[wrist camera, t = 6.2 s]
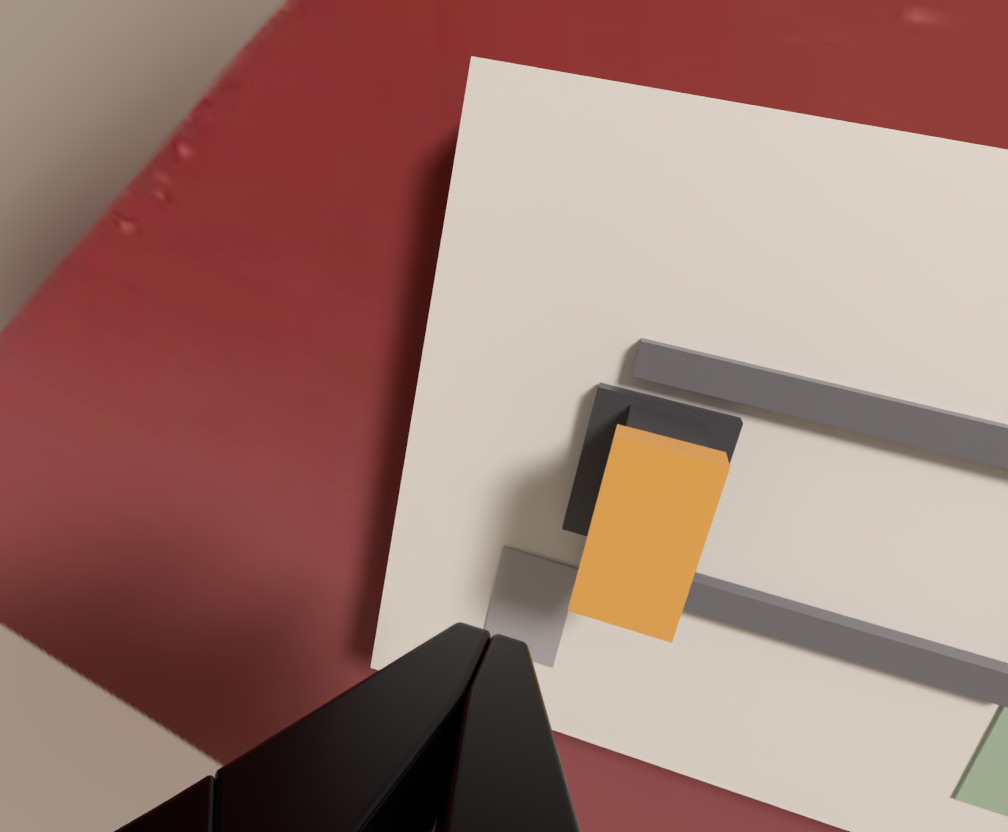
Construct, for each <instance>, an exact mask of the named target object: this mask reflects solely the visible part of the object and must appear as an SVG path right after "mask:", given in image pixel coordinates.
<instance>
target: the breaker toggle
mask: <svg viewBox="0 0 1008 832" xmlns="http://www.w3.org/2000/svg"><path fill="white" fill-rule="evenodd" d="M742 426H743V422H742V420H741V418H740V417H736V416H732V415H728V414H724V413H720V412H716V411H712V410H708V409H704V408H700V407H696V406H692V405H688V404H684V403H680V402H676V401H672V400H668V399H664V398H660V397H656V396H652V395H648V394H644V393H640V392H636V391H632V390H628V389H624V388H620V387H616V386H612V385H608V384H604V383H601V382H600V383H599V385H598V388H597V392H596V396H595V400H594V404H593V408H592V412H591V416H590V420H589V424H588V428H587V432H586V436H585V440H584V444H583V447H582V451H581V455H580V459H579V463H578V467H577V471H576V475H575V479H574V483H573V487H572V491H571V495H570V499H569V503H568V507H567V511H566V514H565V518H564V522H563V526H562V529H563V530H567V531H570V532H573V533H577V534H580V535H584V536H587V538H586V542H585V546H584V550H583V553H582V557H581V561H580V564H579V568H578V572H577V576H576V579H575V583H574V587H573V591H572V595H571V599H570V603H569V607H568V611H570V612H574V613H577V614H580V615H583V616H587V617H590V618H593V619H596V620H599V621H603V622H606V623H609V624H612V625H616V626H619V627H622V628H625V629H628V630H632V631H635V632H638V633H641V634H645V635H648V636H651V637H654V638H657V639H661V640H664V641H667V642H670V643H672V641H673V638H674V635H675V632H676V629H677V626H678V623H679V620H680V617H681V614H682V611H683V608H684V605H685V602H686V599H687V596H688V593H689V590H690V587H691V584H692V581H693V578H694V575H695V572H696V569H697V566H698V563H699V560H700V557H701V554H702V551H703V548H704V545H705V542H706V539H707V536H708V533H709V530H710V527H711V524H712V521H713V518H714V515H715V512H716V509H717V506H718V503H719V499H720V496H721V493H722V490H723V487H724V484H725V481H726V478H727V475H728V472H729V469H730V462H731V459H732V456H733V453H734V450H735V447H736V444H737V441H738V438H739V435H740V432H741V429H742Z"/></svg>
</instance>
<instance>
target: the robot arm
mask: <svg viewBox="0 0 1008 832" xmlns="http://www.w3.org/2000/svg"><path fill="white" fill-rule="evenodd" d="M435 825H436V826H435ZM434 828H435V830H434ZM433 831H434V832H580V828H579V825H578V821H577V818H576V814H575V811H574V807H573V804H572V800H571V796H570V793H569V789H568V786H567V782H566V779H565V775H564V772H563V768H562V764H561V761H560V757H559V754H558V750H557V747H556V743H555V740H554V736H553V732H552V729H551V725H550V722H549V718H548V715H547V711H546V708H545V704H544V700H543V697H542V693H541V690H540V686H539V683H538V679H537V676H536V672H535V669H534V665H533V661H532V658H531V654H530V651H529V648H528V645H527V644H526V643H525V642H523V641H520V640H517V639H514V638H510V637H507V636H504V635H501V634H495V635H493V636H492V637H491V635H490V633H489V631H487V630H485V629H482V628H478V627H475V626H472V625H469V624H466V623H462V622H458V623H455V624H453V625H452V626H450V627H449V628H447V629H445V630H444V631H442V632H440V633H439V634H437V635H436V636H434V637H432V638H431V639H429V640H427V641H426V642H424V643H423V644H421V645H419V646H418V647H416V648H415V649H413V650H411V651H410V652H408V653H406V654H405V655H403V656H402V657H400V658H398V659H397V660H395V661H393V662H392V663H390V664H389V665H387V666H385V667H384V668H382V669H380V670H379V671H377V672H376V673H374V674H372V675H371V676H369V677H368V678H366V679H364V680H363V681H361V682H359V683H358V684H356V685H355V686H353V687H351V688H350V689H348V690H346V691H345V692H343V693H342V694H340V695H338V696H337V697H335V698H333V699H332V700H330V701H329V702H327V703H325V704H324V705H322V706H321V707H319V708H317V709H316V710H314V711H312V712H311V713H309V714H308V715H306V716H304V717H303V718H301V719H299V720H298V721H296V722H295V723H293V724H291V725H290V726H288V727H286V728H285V729H283V730H282V731H280V732H278V733H277V734H275V735H274V736H272V737H270V738H269V739H267V740H265V741H264V742H262V743H261V744H259V745H257V746H256V747H254V748H252V749H251V750H249V751H248V752H246V753H244V754H243V755H241V756H240V757H238V758H236V759H235V760H233V761H231V762H230V763H228V764H227V765H225V766H223V767H222V768H220V769H218V770H217V772H216V774H215V778H214V777H213V776H211V775H210V776H206V777H205V778H203V779H202V780H200V781H198V782H197V783H195V784H194V785H192V786H190V787H189V788H187V789H185V790H184V791H182V792H180V793H179V794H177V795H176V796H174V797H172V798H171V799H169V800H167V801H166V802H164V803H162V804H161V805H159V806H157V807H155V808H154V809H152V810H150V811H149V812H147V813H145V814H143V815H142V816H140V817H138V818H137V819H135V820H133V821H131V822H130V823H128V824H126V825H125V826H123V827H121V828H119V829H118V830H116V831H114V832H433Z"/></svg>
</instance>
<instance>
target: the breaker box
mask: <svg viewBox="0 0 1008 832" xmlns="http://www.w3.org/2000/svg"><path fill="white" fill-rule="evenodd" d="M600 382H601V383H604V384H608V385H612V386H616V387H620V388H624V389H628V390H632V391H636V392H640V393H644V394H648V395H652V396H656V397H660V398H664V399H668V400H672V401H676V402H680V403H684V404H688V405H692V406H696V407H700V408H704V409H708V410H712V411H716V412H720V413H724V414H728V415H732V416H736V417H740V418H741V420H742V422H743V426H742V429H741V432H740V435H739V438H738V441H737V444H736V447H735V450H734V453H733V456H732V459H731V462H730V469H729V472H728V475H727V478H726V481H725V484H724V487H723V490H722V493H721V496H720V499H719V503H718V506H717V509H716V512H715V515H714V518H713V521H712V524H711V527H710V530H709V533H708V536H707V539H706V542H705V545H704V548H703V551H702V554H701V557H700V560H699V563H698V566H697V569H696V572H695V575H694V578H693V581H692V584H691V587H690V590H689V593H688V596H687V599H686V602H685V605H684V608H683V611H682V614H681V617H680V620H679V623H678V626H677V629H676V632H675V635H674V638H673V641H672V643H670V642H667V641H664V640H661V639H657V638H654V637H651V636H648V635H645V634H641V633H638V632H635V631H632V630H628V629H625V628H622V627H619V626H616V625H612V624H609V623H606V622H603V621H599V620H596V619H593V618H590V617H587V616H583V615H580V614H577V613H574V612H570V611H568V607H569V603H570V599H571V595H572V591H573V587H574V583H575V579H576V576H577V572H578V568H579V564H580V561H581V557H582V553H583V550H584V546H585V542H586V538H587V536H584V535H580V534H577V533H573V532H570V531H567V530H563V529H562V526H563V522H564V518H565V514H566V511H567V507H568V503H569V499H570V495H571V491H572V487H573V483H574V479H575V475H576V471H577V467H578V463H579V459H580V455H581V451H582V447H583V444H584V440H585V436H586V432H587V428H588V424H589V420H590V416H591V412H592V408H593V404H594V400H595V396H596V392H597V388H598V385H599V383H600ZM458 622H462V623H466V624H469V625H472V626H475V627H478V628H482V629H485V630H487V631H489V633H490V635H491V637H492V636H493V635H495V634H501V635H504V636H507V637H510V638H514V639H517V640H520V641H523V642H525V643H526V644H527V645H528V648H529V651H530V654H531V658H532V661H533V665H534V669H535V672H536V676H537V679H538V683H539V686H540V690H541V693H542V697H543V700H544V704H545V708H546V711H547V715H548V718H549V722H550V725H551V729H552V730H554V731H557V732H560V733H563V734H566V735H569V736H572V737H575V738H578V739H581V740H584V741H587V742H589V743H592V744H595V745H598V746H601V747H604V748H607V749H610V750H613V751H616V752H619V753H622V754H625V755H627V756H630V757H633V758H636V759H639V760H642V761H645V762H648V763H651V764H654V765H657V766H660V767H663V768H665V769H668V770H671V771H674V772H677V773H680V774H683V775H686V776H689V777H692V778H695V779H698V780H701V781H703V782H706V783H709V784H712V785H715V786H718V787H721V788H724V789H727V790H730V791H733V792H736V793H739V794H741V795H744V796H747V797H750V798H753V799H756V800H759V801H762V802H765V803H768V804H771V805H774V806H777V807H779V808H782V809H785V810H788V811H791V812H794V813H797V814H800V815H803V816H806V817H809V818H812V819H815V820H817V821H820V822H823V823H826V824H829V825H832V826H835V827H838V828H841V829H844V830H847V831H850V832H1008V150H1007V149H1001V148H995V147H989V146H984V145H978V144H972V143H966V142H961V141H955V140H949V139H943V138H938V137H932V136H926V135H920V134H915V133H909V132H903V131H897V130H892V129H886V128H880V127H875V126H869V125H863V124H857V123H852V122H846V121H840V120H834V119H829V118H823V117H817V116H811V115H806V114H800V113H794V112H788V111H783V110H777V109H771V108H765V107H760V106H754V105H748V104H742V103H737V102H731V101H725V100H719V99H714V98H708V97H702V96H697V95H691V94H685V93H679V92H674V91H668V90H662V89H656V88H651V87H645V86H639V85H633V84H628V83H622V82H616V81H610V80H605V79H599V78H593V77H587V76H582V75H576V74H570V73H564V72H559V71H553V70H547V69H541V68H536V67H530V66H524V65H519V64H513V63H507V62H501V61H496V60H490V59H484V58H478V57H473V56H471V61H470V67H469V73H468V79H467V86H466V92H465V98H464V104H463V110H462V116H461V122H460V128H459V134H458V140H457V146H456V152H455V158H454V164H453V170H452V176H451V182H450V188H449V195H448V201H447V207H446V213H445V219H444V225H443V231H442V237H441V243H440V249H439V255H438V261H437V267H436V273H435V279H434V285H433V291H432V297H431V304H430V310H429V316H428V322H427V328H426V334H425V340H424V346H423V352H422V358H421V364H420V370H419V376H418V382H417V388H416V394H415V400H414V406H413V413H412V419H411V425H410V431H409V437H408V443H407V449H406V455H405V461H404V467H403V473H402V479H401V485H400V491H399V497H398V503H397V509H396V515H395V522H394V528H393V534H392V540H391V546H390V552H389V558H388V564H387V570H386V576H385V582H384V588H383V594H382V600H381V606H380V612H379V618H378V624H377V630H376V637H375V643H374V649H373V655H372V661H371V667H370V668H373V669H376V670H380V669H382V668H384V667H385V666H387V665H389V664H390V663H392V662H393V661H395V660H397V659H398V658H400V657H402V656H403V655H405V654H406V653H408V652H410V651H411V650H413V649H415V648H416V647H418V646H419V645H421V644H423V643H424V642H426V641H427V640H429V639H431V638H432V637H434V636H436V635H437V634H439V633H440V632H442V631H444V630H445V629H447V628H449V627H450V626H452V625H453V624H455V623H458Z"/></svg>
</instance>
